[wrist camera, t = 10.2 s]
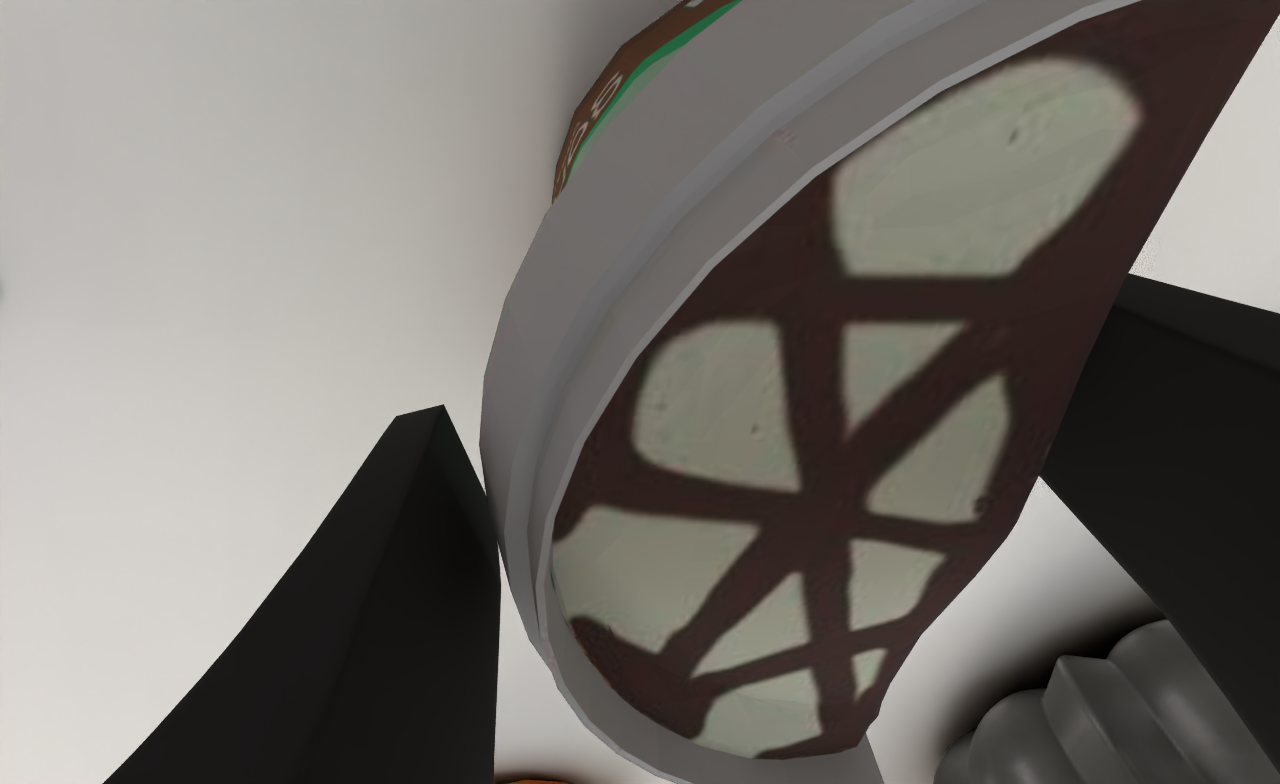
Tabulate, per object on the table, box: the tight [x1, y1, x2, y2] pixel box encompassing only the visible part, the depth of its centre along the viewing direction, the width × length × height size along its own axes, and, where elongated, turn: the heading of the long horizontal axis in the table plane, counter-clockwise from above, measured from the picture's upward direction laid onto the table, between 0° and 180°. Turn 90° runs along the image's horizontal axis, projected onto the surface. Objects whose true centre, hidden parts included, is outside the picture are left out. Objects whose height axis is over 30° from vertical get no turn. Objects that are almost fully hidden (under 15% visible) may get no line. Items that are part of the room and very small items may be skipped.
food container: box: [479, 0, 1280, 784], centre depth 11 cm, size 12×6×10 cm, turn 173°
